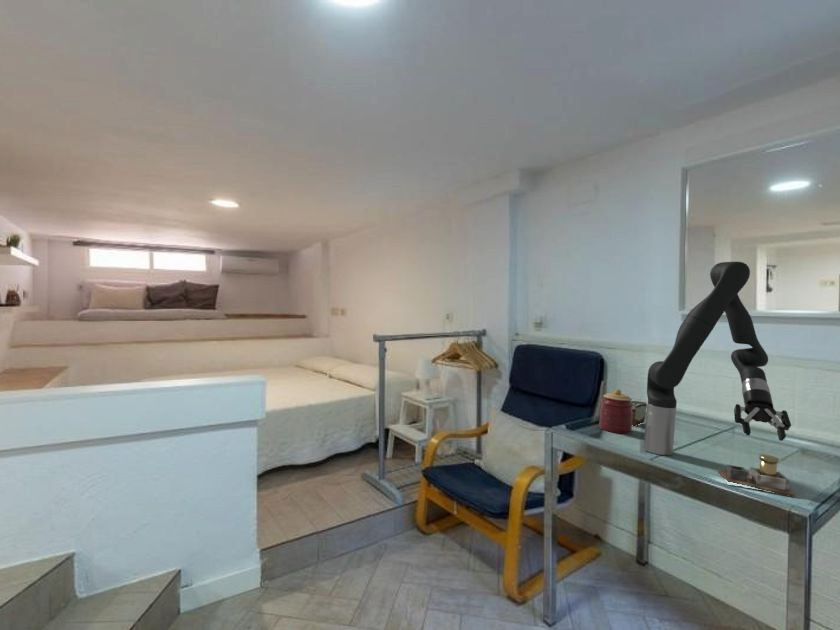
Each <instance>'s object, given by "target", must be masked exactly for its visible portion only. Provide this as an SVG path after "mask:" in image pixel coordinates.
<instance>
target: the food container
mask: <svg viewBox="0 0 840 630" xmlns="http://www.w3.org/2000/svg"><path fill="white" fill-rule="evenodd" d="M631 403H632V404H633V405H634V406H633V407H632V412H633V414H632V425H633V426H632V427H634V426H636V425H638V424H640V423H643V422H644V423H645V420H646V413H647V407H648V403H647V402H645V401H639V400H638V401H637V400H631ZM636 427H637V426H636Z"/></svg>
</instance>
